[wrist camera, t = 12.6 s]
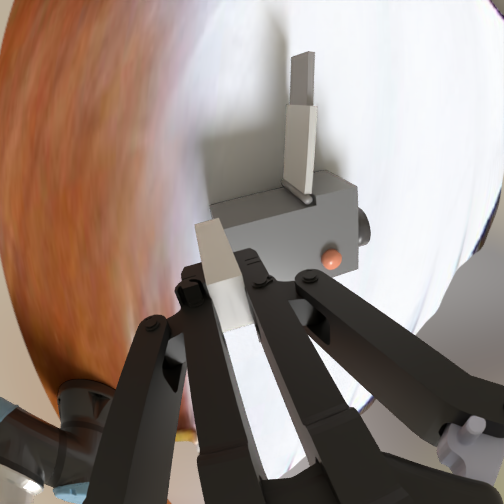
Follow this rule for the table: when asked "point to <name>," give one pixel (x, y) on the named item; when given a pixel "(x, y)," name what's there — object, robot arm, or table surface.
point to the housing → (299, 227)
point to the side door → (300, 128)
